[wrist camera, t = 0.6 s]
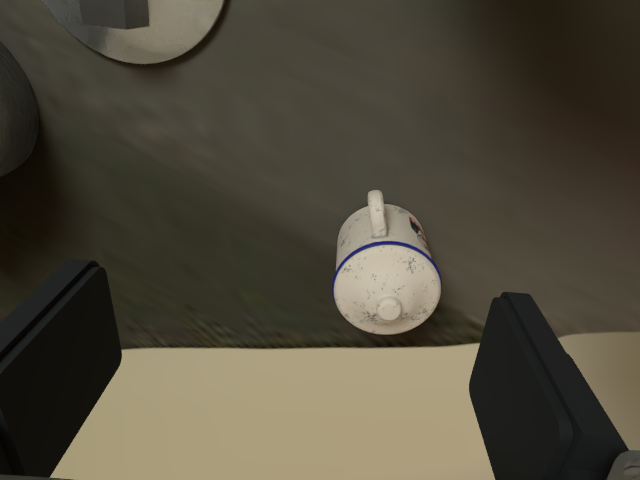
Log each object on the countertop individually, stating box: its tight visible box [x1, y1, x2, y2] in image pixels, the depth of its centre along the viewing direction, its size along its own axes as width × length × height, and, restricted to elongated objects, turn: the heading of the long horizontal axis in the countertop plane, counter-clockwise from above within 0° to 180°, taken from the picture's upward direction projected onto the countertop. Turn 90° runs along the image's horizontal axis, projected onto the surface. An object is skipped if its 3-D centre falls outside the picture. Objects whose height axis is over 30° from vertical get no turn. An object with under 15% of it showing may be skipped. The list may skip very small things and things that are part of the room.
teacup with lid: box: [332, 190, 442, 335], centre depth 40 cm, size 12×9×12 cm
